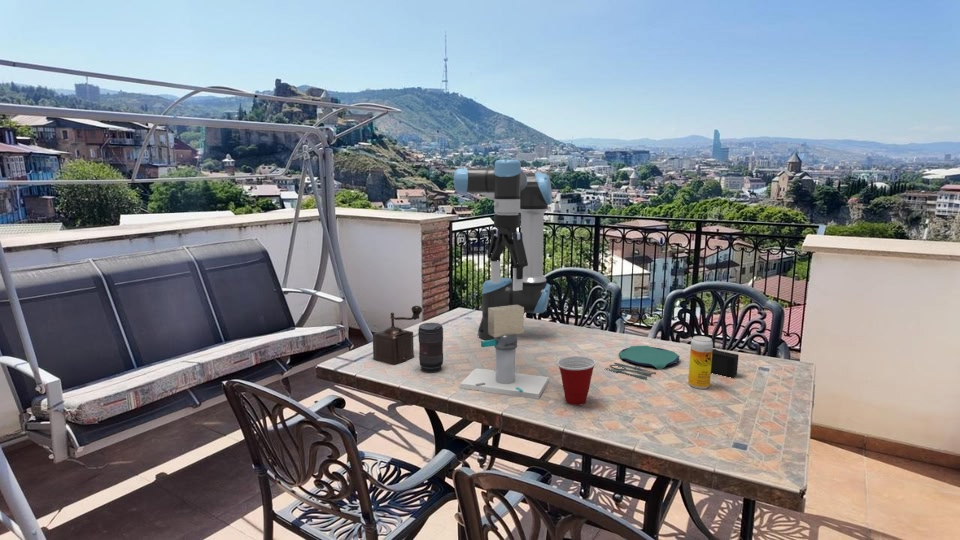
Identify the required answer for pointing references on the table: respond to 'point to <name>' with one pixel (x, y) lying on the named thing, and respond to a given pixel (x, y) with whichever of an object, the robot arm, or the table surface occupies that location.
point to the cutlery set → (645, 359)
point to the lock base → (505, 378)
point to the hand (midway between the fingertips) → (506, 286)
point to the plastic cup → (576, 377)
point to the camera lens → (430, 347)
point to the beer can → (700, 362)
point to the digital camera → (724, 363)
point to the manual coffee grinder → (395, 341)
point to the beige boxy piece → (504, 326)
